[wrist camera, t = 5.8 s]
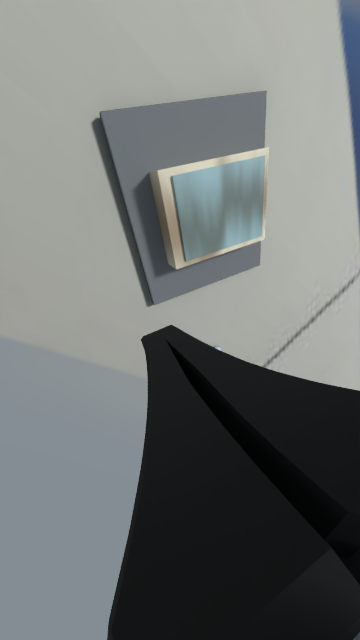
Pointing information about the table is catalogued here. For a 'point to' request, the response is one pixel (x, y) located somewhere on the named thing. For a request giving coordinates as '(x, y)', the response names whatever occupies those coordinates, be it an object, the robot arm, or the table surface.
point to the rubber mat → (175, 150)
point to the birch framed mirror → (211, 205)
